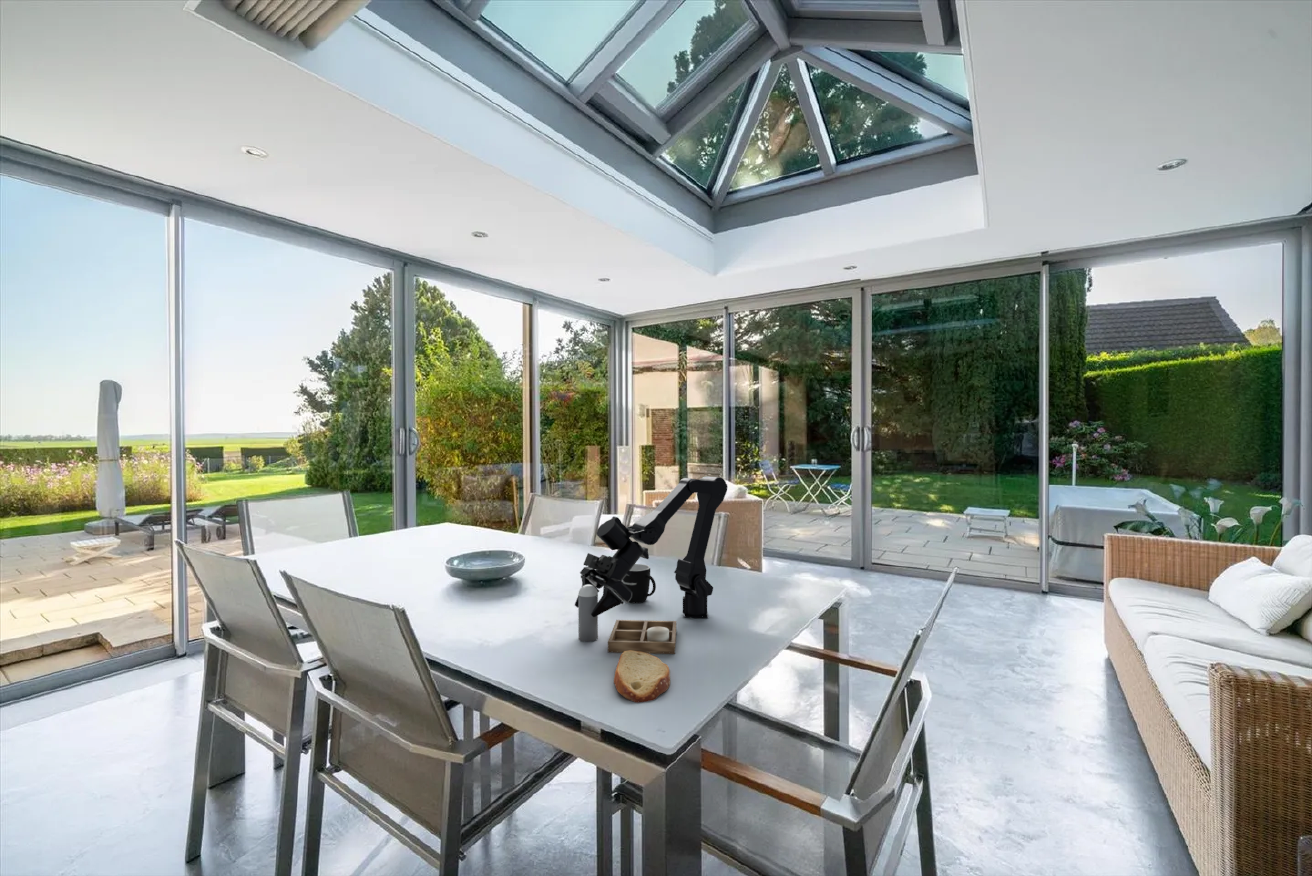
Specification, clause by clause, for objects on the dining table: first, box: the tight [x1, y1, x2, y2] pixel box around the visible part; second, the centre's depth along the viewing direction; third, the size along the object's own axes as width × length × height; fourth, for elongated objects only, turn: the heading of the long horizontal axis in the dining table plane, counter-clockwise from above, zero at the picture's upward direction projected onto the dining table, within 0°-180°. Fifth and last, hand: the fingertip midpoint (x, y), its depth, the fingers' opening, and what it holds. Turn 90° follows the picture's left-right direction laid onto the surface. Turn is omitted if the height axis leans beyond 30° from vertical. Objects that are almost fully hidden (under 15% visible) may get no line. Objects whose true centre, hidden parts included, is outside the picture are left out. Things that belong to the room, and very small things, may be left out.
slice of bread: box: [613, 650, 671, 704], centre depth 118 cm, size 18×18×4 cm
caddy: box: [607, 619, 677, 655], centre depth 139 cm, size 16×16×4 cm
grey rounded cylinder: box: [577, 584, 599, 643], centre depth 141 cm, size 5×5×13 cm
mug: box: [622, 563, 657, 604], centre depth 173 cm, size 12×9×10 cm
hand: (583, 611), depth 141 cm, fingers open, 9 cm apart
